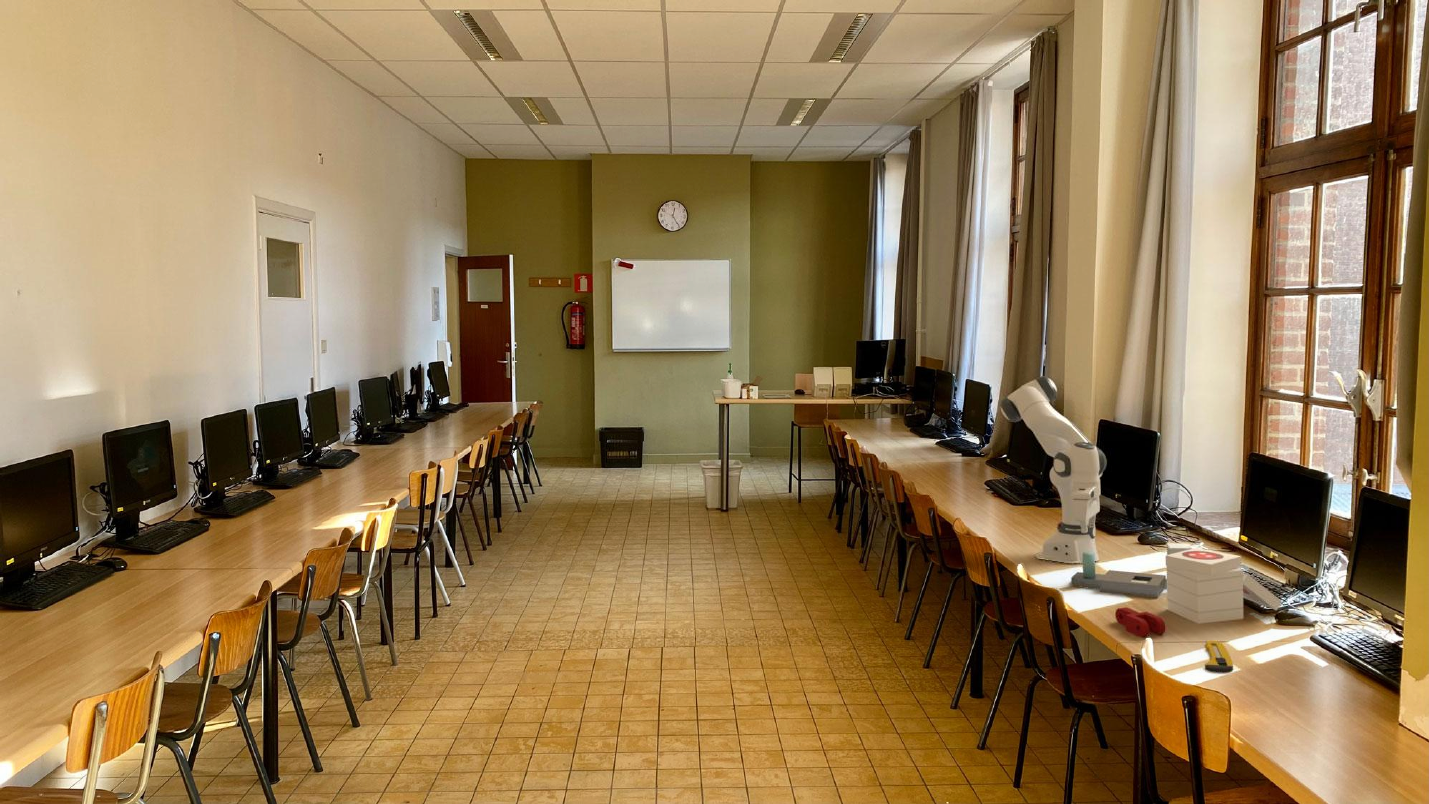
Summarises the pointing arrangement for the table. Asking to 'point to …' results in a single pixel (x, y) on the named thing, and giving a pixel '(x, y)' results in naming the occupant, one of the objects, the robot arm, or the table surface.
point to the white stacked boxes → (1211, 586)
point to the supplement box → (1177, 547)
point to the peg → (1089, 565)
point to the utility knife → (1218, 657)
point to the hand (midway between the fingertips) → (1088, 529)
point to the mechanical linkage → (1140, 622)
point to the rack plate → (1123, 583)
